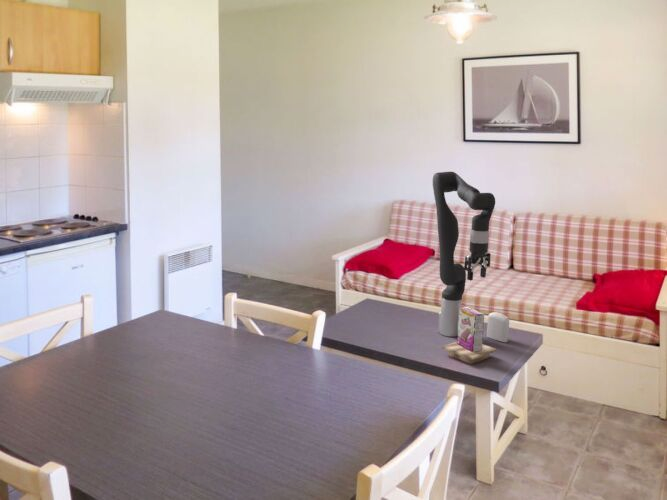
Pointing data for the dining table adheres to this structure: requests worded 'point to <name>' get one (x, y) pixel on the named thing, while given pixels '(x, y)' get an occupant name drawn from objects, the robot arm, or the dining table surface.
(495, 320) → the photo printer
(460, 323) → the candy bar box
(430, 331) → the dining table surface
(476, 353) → the stand
